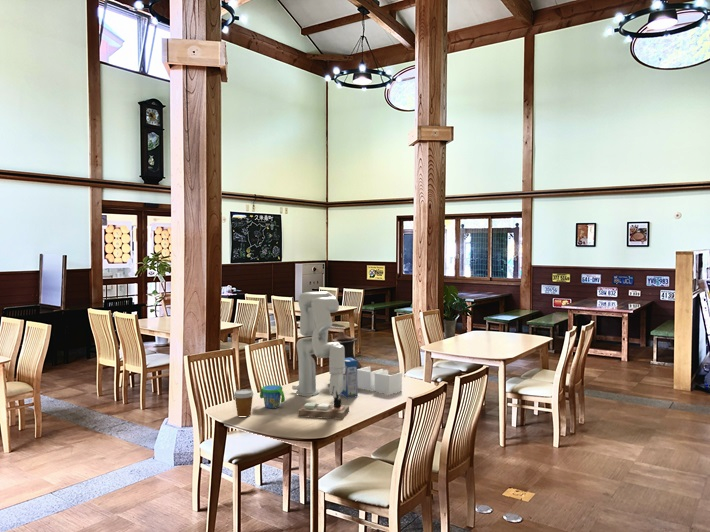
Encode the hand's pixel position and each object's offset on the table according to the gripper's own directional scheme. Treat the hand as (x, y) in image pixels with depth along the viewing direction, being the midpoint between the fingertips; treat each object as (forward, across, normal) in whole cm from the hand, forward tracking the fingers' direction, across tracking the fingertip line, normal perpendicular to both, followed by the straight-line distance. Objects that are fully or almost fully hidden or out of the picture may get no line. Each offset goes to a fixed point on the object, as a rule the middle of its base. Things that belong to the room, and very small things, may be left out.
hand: (337, 407), depth 267 cm
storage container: (+4, -51, +11) cm, 52 cm away
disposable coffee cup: (+4, +10, -45) cm, 46 cm away
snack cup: (+4, -7, -37) cm, 38 cm away
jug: (+4, -65, -12) cm, 66 cm away
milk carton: (+4, -36, -3) cm, 36 cm away
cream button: (+2, 0, -7) cm, 7 cm away
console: (+4, 0, -7) cm, 8 cm away
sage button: (+2, 0, -14) cm, 14 cm away
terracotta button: (+3, 0, 0) cm, 3 cm away
